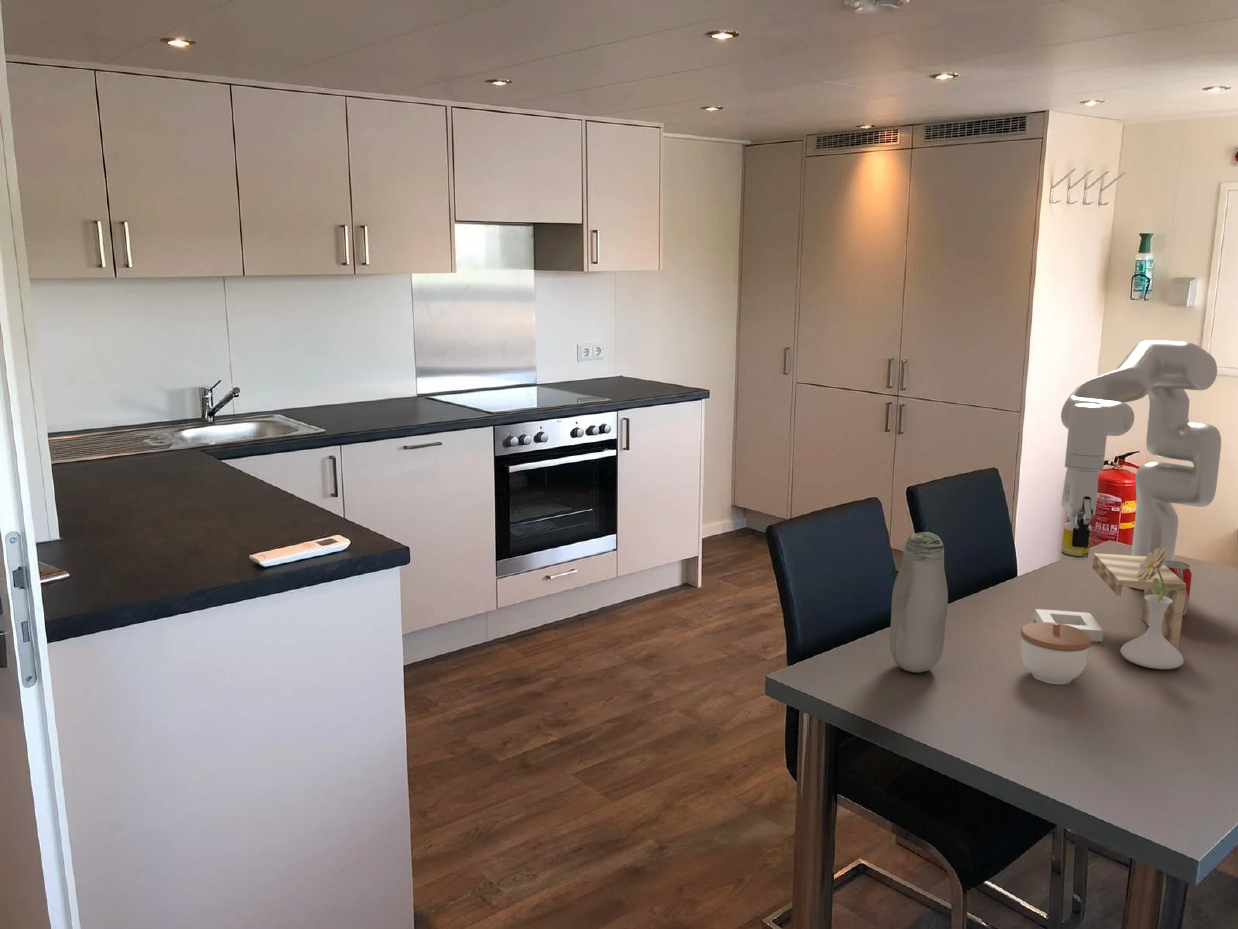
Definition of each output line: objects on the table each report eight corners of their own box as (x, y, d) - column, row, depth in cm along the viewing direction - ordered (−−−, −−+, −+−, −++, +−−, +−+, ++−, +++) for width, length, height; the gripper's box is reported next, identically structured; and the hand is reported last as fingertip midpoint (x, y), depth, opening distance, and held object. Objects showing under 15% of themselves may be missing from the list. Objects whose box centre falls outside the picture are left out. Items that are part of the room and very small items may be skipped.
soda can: (1193, 619, 226) (1199, 569, 223) (1161, 618, 226) (1168, 568, 224) (1176, 608, 233) (1182, 559, 230) (1146, 608, 233) (1152, 559, 230)
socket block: (1034, 619, 225) (1035, 609, 224) (1088, 623, 222) (1089, 612, 222) (1045, 637, 214) (1046, 626, 213) (1102, 641, 211) (1103, 630, 211)
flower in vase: (1124, 648, 208) (1137, 534, 203) (1185, 661, 201) (1201, 543, 196) (1113, 668, 197) (1127, 548, 193) (1178, 682, 191) (1193, 558, 186)
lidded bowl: (1033, 659, 202) (1038, 608, 200) (1097, 677, 193) (1102, 624, 191) (1006, 676, 193) (1010, 623, 191) (1071, 696, 184) (1077, 640, 182)
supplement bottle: (1086, 562, 211) (1091, 518, 209) (1059, 558, 214) (1063, 515, 212) (1089, 556, 216) (1094, 513, 214) (1063, 552, 219) (1067, 509, 217)
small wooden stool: (1087, 614, 228) (1093, 553, 225) (1148, 618, 226) (1155, 557, 223) (1111, 646, 209) (1118, 579, 206) (1177, 651, 206) (1186, 584, 204)
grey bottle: (928, 684, 189) (938, 543, 184) (879, 669, 196) (888, 533, 191) (950, 669, 196) (960, 533, 191) (902, 655, 203) (911, 524, 198)
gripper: (1056, 453, 220) (1049, 531, 223) (1075, 468, 203) (1066, 552, 207) (1092, 454, 218) (1084, 533, 222) (1114, 470, 202) (1105, 555, 205)
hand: (1076, 542), depth 214 cm, fingers closed on supplement bottle, 5 cm apart
